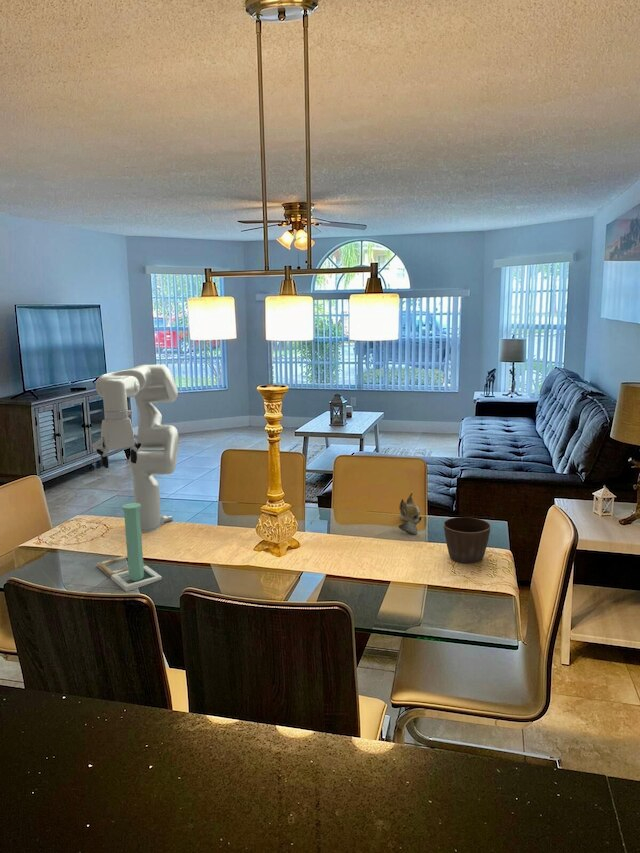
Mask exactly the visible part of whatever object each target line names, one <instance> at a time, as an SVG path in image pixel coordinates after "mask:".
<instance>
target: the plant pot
mask: <svg viewBox="0 0 640 853" xmlns="http://www.w3.org/2000/svg"><path fill="white" fill-rule="evenodd" d="M491 528H492V524H490V522H488V521H486V520H485V519H480V518H476V517H468V516H467V517H466V516H464V517H463V516H461V517H458V516H457V517H453V518H452V517H451V518H448V519H446V520H445V521H444V522H443V529H444V531H443V532H444V537H445V542H446V548H447V550H448V551H447V552H448V555H449V558H450V559H451V560H452V561H453V562H456V563H458V564H462V565H463V564H464V565H466V564H467V565H469V564H470V565H472V564H476V563H479V562H481V561H482V560H484V556H485V553H486V550H487V547H488V543H489V540H490V538H489V537H490V532H491Z"/></svg>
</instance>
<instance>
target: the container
mask: <svg viewBox="0 0 640 853" xmlns="http://www.w3.org/2000/svg"><path fill="white" fill-rule="evenodd" d="M121 507H122V508H121V509H122V510H123V512H124V514H123V515H124V529H125V530H124V531H125V541H126V543H125V544H126V556H127V567H128V572H129V575H128V577H129V579H130V580H131V582H132V581H134V582H137V581H141V580H144V576H145V570H144V566H143V563H144V555H143V539H142V537H143V536H142V533H141V522H140V508H141V505H140V503H135V502H130V503H129V502H128V503H125V504H123V505H122V506H121Z"/></svg>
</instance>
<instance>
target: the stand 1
mask: <svg viewBox="0 0 640 853" xmlns="http://www.w3.org/2000/svg"><path fill="white" fill-rule="evenodd" d="M126 558H127V555H123V556H118V557H114V558H111V559H108V560H104V561H100V562H97V563H96V566H97V568H99V569H100V570H101V571H102V572H103V573H104V574H106V576H107V577H108V578H110V579H112V578H111V575H113V574H117V573H120V572H124V571H128V566H127V567H124V568H120V569H117V570H112V569H111V568H109V567H108V565H112V564H115V563H118V562H121V561H124V560H127V559H128V558H127V559H126ZM123 559H124V560H123ZM143 566H146V564H145V563H144V562H143Z"/></svg>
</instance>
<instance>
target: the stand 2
mask: <svg viewBox="0 0 640 853" xmlns="http://www.w3.org/2000/svg"><path fill="white" fill-rule="evenodd" d="M144 572H146V573H147V574H149V576H151V577H148V578H145V579H144V578H143V579H141V580H138V581H134V582H131V583H128V582H127V581H125V580H124V579H123V578H126V577H129V572H128V571H124V572H120V573H117V574H113V575H111V578H110V579H111V580H112V581H113V582H114V583H115V584H116V585H118V586H119V587H120V588H121V589H122V590H123V591H125V592H129V591H132V590H135V589H139V588H140V587H144V586H147V585H149V584H152V583H156V582H158V581H160V580H161V581H162V579H163V578H162V576H161V575H160V574H159V573H157V571H155V570H153V569H152V568H150V566H148V565H145V566H144Z"/></svg>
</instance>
